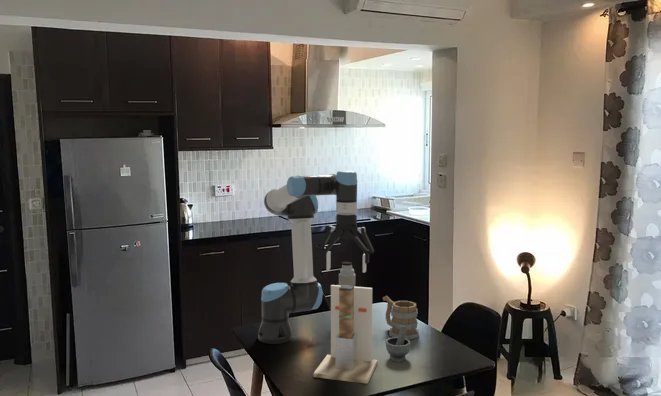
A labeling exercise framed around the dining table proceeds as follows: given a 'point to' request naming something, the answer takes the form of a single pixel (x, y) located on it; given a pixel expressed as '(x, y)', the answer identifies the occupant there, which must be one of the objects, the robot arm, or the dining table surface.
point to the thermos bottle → (347, 274)
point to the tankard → (402, 318)
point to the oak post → (346, 311)
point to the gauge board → (355, 321)
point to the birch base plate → (359, 373)
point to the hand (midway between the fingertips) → (346, 270)
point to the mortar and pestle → (398, 346)
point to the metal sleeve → (346, 352)
